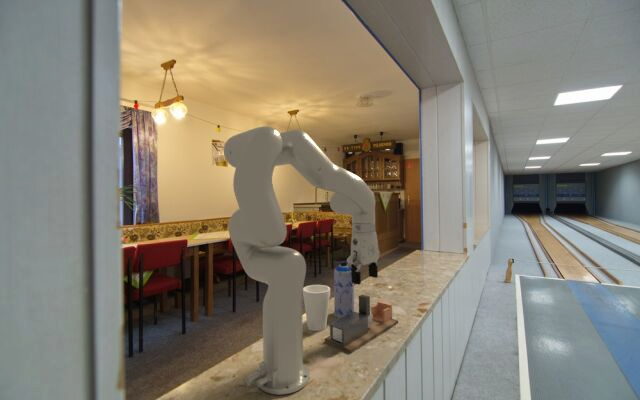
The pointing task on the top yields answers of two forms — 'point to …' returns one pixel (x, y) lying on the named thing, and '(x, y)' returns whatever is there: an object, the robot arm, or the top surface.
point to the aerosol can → (343, 290)
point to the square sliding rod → (363, 309)
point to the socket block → (382, 311)
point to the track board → (366, 335)
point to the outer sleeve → (350, 328)
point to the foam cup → (316, 306)
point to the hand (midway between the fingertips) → (365, 280)
